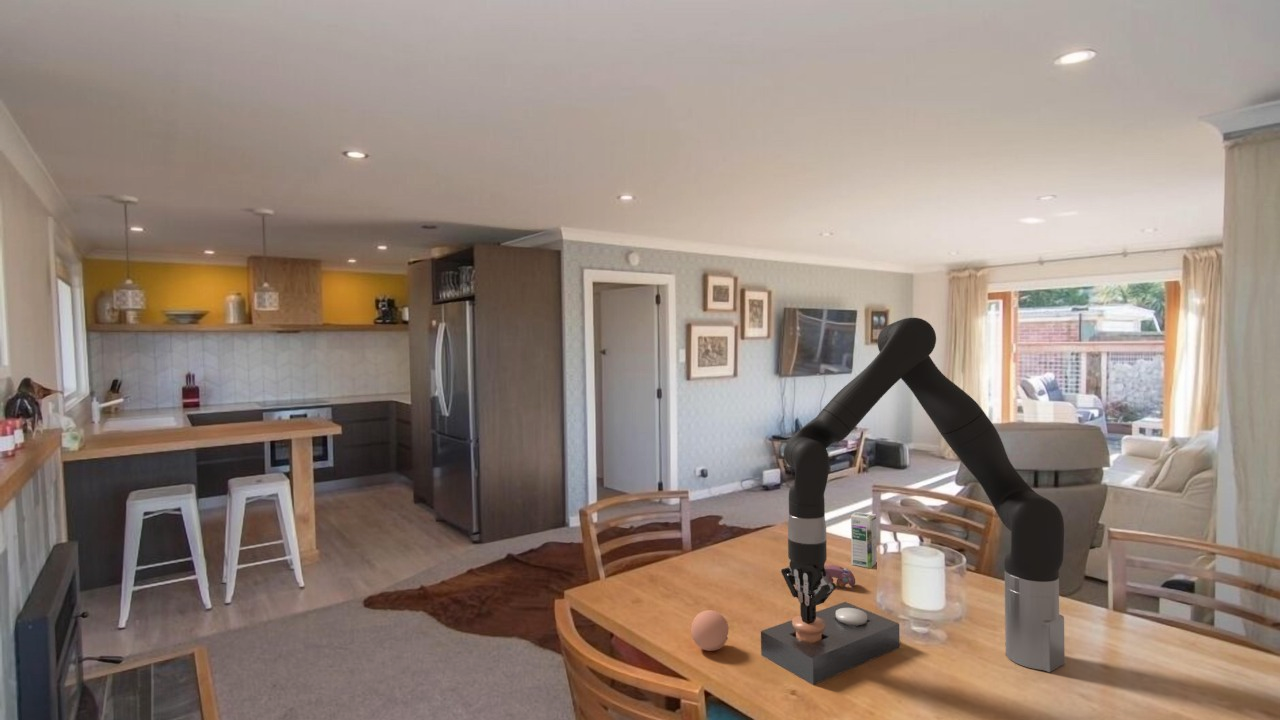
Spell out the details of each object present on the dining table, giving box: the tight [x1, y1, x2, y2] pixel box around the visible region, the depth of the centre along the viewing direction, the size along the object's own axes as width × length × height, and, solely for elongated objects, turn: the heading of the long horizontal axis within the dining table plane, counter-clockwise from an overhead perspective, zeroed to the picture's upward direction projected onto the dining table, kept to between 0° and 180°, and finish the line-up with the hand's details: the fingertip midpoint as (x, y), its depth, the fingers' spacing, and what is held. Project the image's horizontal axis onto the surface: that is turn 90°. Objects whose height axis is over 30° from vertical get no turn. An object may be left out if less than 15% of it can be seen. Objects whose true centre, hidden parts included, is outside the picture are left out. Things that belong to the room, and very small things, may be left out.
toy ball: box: [690, 609, 729, 652], centre depth 132 cm, size 8×8×8 cm
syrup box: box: [850, 511, 878, 569], centre depth 182 cm, size 6×6×14 cm
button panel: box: [760, 601, 901, 686], centre depth 130 cm, size 14×26×5 cm, turn 122°
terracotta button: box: [791, 614, 825, 644], centre depth 127 cm, size 6×6×6 cm
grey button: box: [836, 608, 867, 628], centre depth 134 cm, size 6×6×6 cm
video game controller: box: [824, 564, 856, 589], centre depth 166 cm, size 10×5×7 cm, turn 62°
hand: (808, 621), depth 127 cm, fingers closed
